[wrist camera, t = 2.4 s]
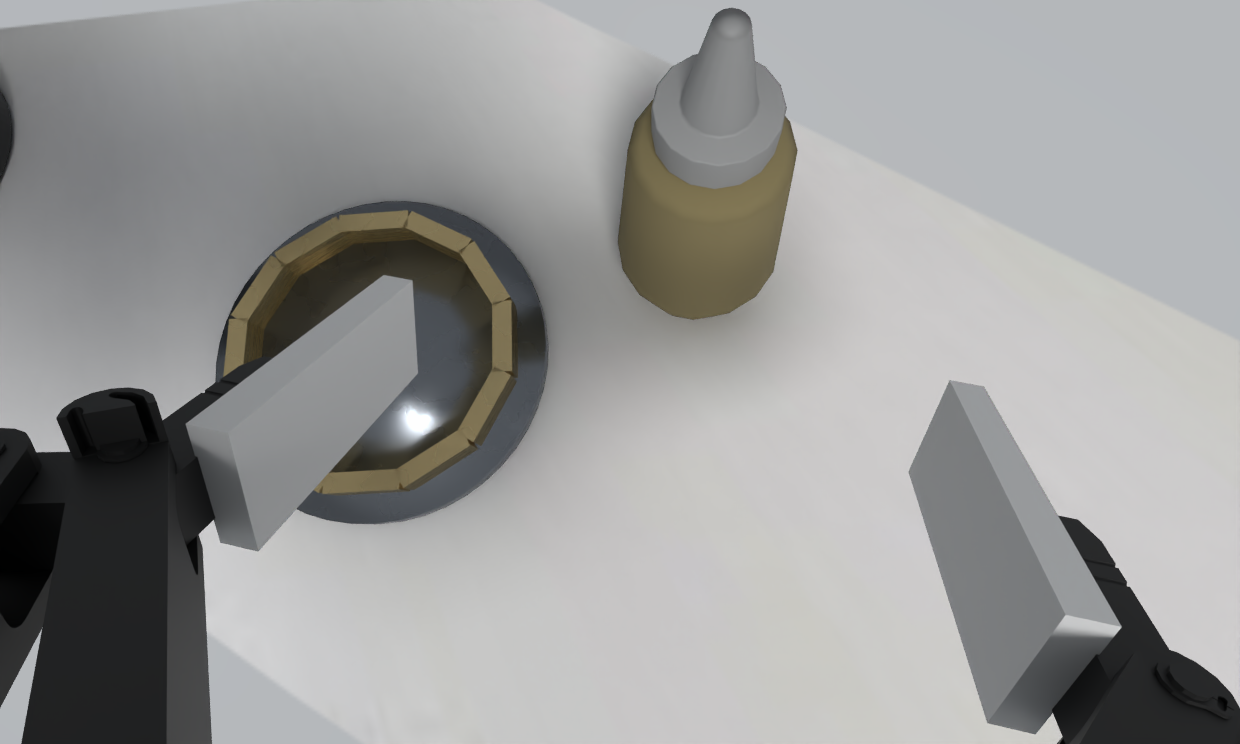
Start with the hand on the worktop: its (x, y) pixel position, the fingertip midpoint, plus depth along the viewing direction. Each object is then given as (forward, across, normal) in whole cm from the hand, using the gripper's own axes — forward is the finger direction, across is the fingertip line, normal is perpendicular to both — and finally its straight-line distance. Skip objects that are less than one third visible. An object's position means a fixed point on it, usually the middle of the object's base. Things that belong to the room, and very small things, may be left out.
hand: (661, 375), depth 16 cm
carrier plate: (+15, -16, -11) cm, 24 cm away
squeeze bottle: (+21, 0, -5) cm, 21 cm away
